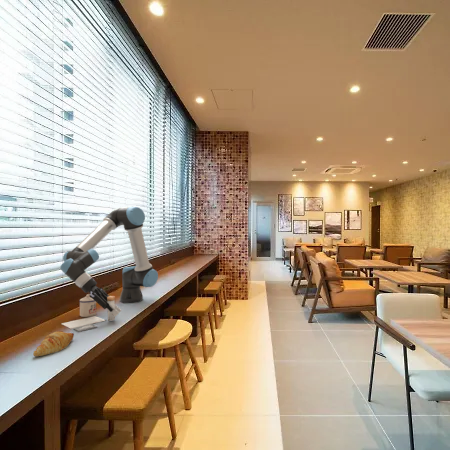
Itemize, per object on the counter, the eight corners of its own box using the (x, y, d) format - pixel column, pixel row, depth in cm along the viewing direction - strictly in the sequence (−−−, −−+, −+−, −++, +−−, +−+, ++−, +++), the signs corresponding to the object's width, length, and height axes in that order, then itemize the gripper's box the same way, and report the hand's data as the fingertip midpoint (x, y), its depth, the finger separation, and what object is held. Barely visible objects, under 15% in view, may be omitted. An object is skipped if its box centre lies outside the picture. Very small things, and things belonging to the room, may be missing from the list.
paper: (95, 316, 175) (95, 316, 175) (105, 320, 167) (105, 320, 167) (61, 324, 162) (61, 323, 162) (70, 328, 154) (70, 328, 154)
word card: (91, 325, 160) (91, 323, 160) (97, 327, 156) (97, 326, 156) (73, 329, 153) (73, 328, 153) (78, 332, 149) (78, 330, 149)
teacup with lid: (91, 317, 173) (91, 296, 174) (75, 317, 175) (75, 296, 175) (102, 311, 185) (102, 292, 186) (87, 311, 186) (87, 291, 187)
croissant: (40, 368, 118) (49, 350, 117) (20, 354, 120) (28, 336, 119) (77, 346, 139) (85, 331, 138) (60, 334, 141) (67, 319, 140)
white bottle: (112, 318, 168) (112, 295, 168) (116, 319, 166) (116, 296, 166) (106, 319, 165) (105, 296, 165) (109, 321, 163) (109, 297, 163)
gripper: (87, 285, 173) (118, 314, 174) (74, 291, 156) (108, 323, 157) (96, 275, 173) (127, 304, 174) (85, 280, 157) (119, 312, 158)
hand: (118, 313), depth 166 cm, fingers closed on white bottle, 3 cm apart
